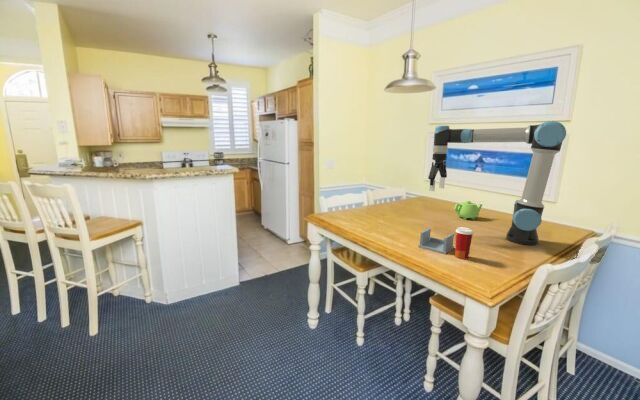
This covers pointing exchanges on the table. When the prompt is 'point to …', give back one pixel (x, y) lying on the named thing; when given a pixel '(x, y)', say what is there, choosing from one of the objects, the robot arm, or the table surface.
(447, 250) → the holder
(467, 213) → the teapot
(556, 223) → the table surface
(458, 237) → the paper cup
